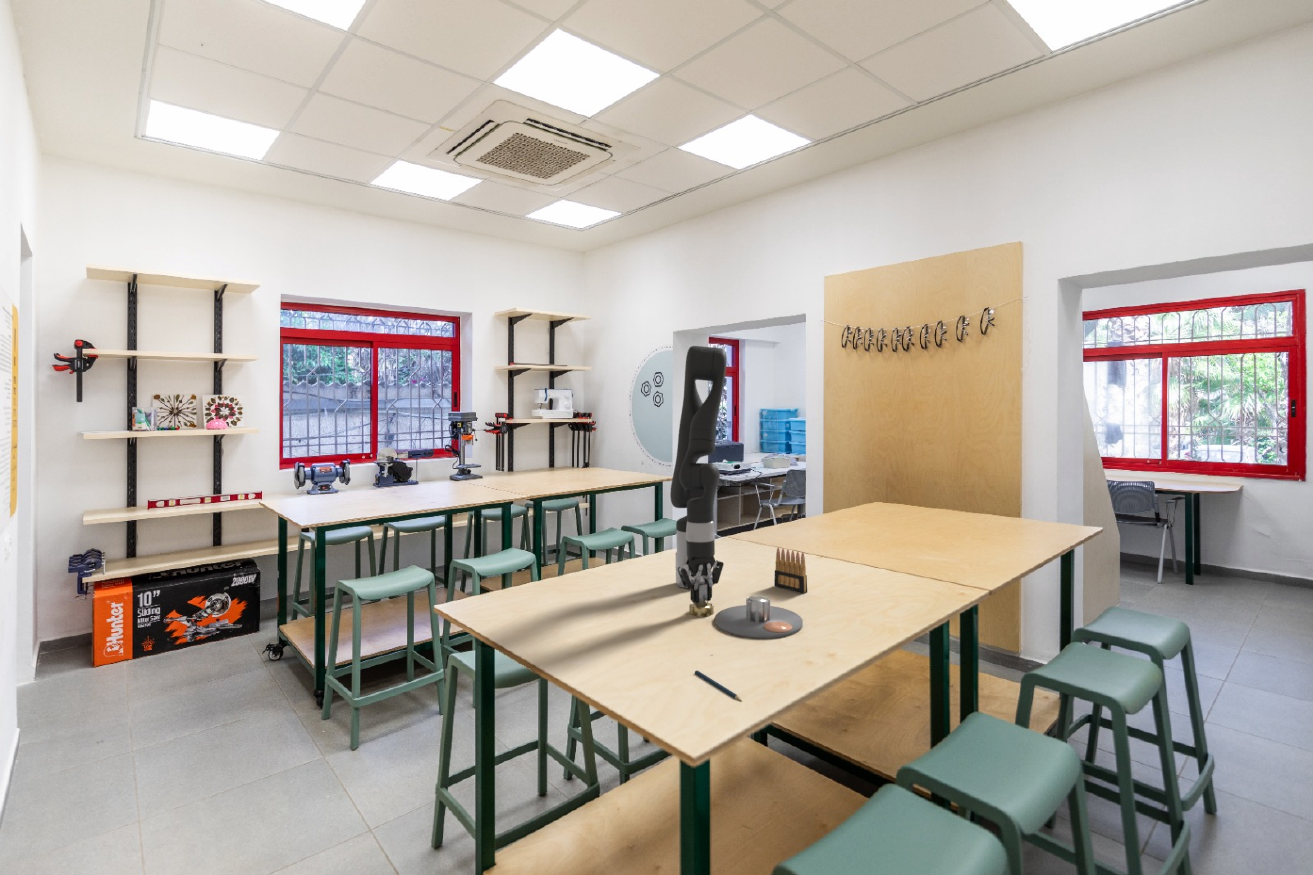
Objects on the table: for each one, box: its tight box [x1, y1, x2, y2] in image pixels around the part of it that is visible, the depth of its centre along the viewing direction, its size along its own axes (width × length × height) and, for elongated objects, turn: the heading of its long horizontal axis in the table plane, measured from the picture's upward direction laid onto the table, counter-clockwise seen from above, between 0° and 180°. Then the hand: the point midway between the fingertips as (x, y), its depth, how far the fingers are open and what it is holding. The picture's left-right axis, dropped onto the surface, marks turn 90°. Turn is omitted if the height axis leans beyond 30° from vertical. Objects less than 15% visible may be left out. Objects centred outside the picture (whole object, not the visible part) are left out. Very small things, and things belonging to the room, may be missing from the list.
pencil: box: [694, 670, 743, 702], centre depth 126 cm, size 1×1×15 cm
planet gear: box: [688, 582, 715, 618], centre depth 169 cm, size 6×6×8 cm
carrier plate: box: [714, 595, 804, 640], centre depth 161 cm, size 22×22×6 cm
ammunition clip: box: [773, 547, 808, 594], centre depth 189 cm, size 11×2×12 cm, turn 43°
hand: (701, 601), depth 169 cm, fingers closed on planet gear, 3 cm apart
